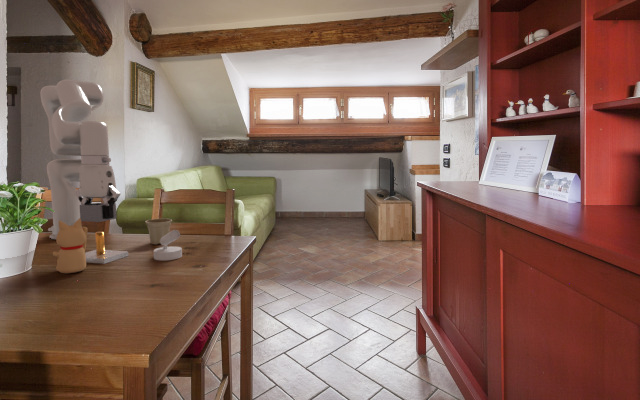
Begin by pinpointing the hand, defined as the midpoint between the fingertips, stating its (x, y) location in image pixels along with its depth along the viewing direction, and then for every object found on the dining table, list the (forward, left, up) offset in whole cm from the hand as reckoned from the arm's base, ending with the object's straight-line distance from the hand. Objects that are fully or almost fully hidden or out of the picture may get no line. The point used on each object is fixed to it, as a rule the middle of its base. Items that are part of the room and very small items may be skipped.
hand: (98, 217), depth 120 cm
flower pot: (+3, +25, -14) cm, 29 cm away
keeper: (0, 0, -13) cm, 13 cm away
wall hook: (+20, +7, -14) cm, 25 cm away
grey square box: (0, 0, -1) cm, 1 cm away
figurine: (+3, -13, -14) cm, 19 cm away
